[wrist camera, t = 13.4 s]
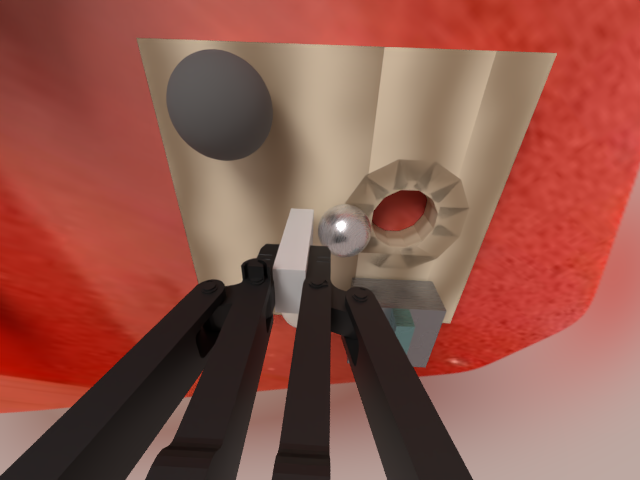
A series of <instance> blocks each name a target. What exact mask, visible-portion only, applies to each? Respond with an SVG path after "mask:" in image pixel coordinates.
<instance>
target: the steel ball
mask: <svg viewBox="0 0 640 480" xmlns="http://www.w3.org/2000/svg"><path fill="white" fill-rule="evenodd" d="M318 237H319V240H320V243H321V244H322V246H327V247H328V248H329V249H330V251H331V254H332V255H334V256H337V257H344V258H346V257H352V256H355V255H357V254H359V253H360V252H362V251H363V250H364V249H365V247H366V246H367V245H368V243H369V241H370V238H371V224H370V221H369V219H368V217H367V216H366V214H365V213H364V212H363V211H362V210H361V209H359V208H358V207H356V206H353V205H349V204H341V205H336V206H334V207H332V208H330V209H329V210H327V211H326V212H325V213H324V214H323V216H322V217H321V219H320V221H319V225H318Z"/></svg>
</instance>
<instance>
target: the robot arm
mask: <svg viewBox="0 0 640 480" xmlns="http://www.w3.org/2000/svg"><path fill="white" fill-rule="evenodd" d="M313 223H314V209H294V208H291V210H290V213H289V217H288V220H287V223H286V226H285V230H284V233H283V236H282V239H281V243H280V244H265V245H264V246H263V247H262V248H261V249H260V251H259V254H258V256H257V258H253V259H249V260H247V261H245V262H243V264H242V265H241V270H242V278H243V280H242V282H241V283H239V284H235V285H229V286H225V284H224V283H223V282H222V281H220V280H217V279H211V280H206V281H203V282H201V283H200V284H198V285H197V286H196V287H195V288H194V289H193V290H192V291H191V292H190V293H189V294H187V295H186V296H185V297H184V298H183V299H182V300H181V301H180V302H179V303H178V304H177V305H176V306H175V307H174V308H173V309H172V310H171V311H170V312H169V313H168V314H167V315H166V316H165V317H164V318H163V319H162V320H161V321H160V322H159V323H158V324H157V325H156V326H154V327H153V328H152V329H151V330H150V331H149V332H148V333H147V334H146V335H145V336H144V337H143V338H142V339H141V340H140V341H139V342H138V343H137V344H136V345H135V346H134V347H133V348H132V349H131V350H130V351H129V352H128V353H127V354H126V355H125V356H124V357H123V358H121V359H120V360H119V361H118V362H117V363H116V364H115V365H114V366H113V367H112V368H111V369H110V370H109V371H108V372H107V373H106V374H105V375H104V376H103V377H102V378H101V379H100V380H99V381H98V382H97V383H96V384H95V385H94V386H93V387H92V388H91V389H90V390H88V391H87V392H86V393H85V394H84V395H83V396H82V397H81V398H80V399H79V400H78V401H77V402H76V403H75V404H74V405H73V406H72V407H71V408H70V409H69V410H68V411H67V412H66V413H65V414H64V415H63V416H62V417H61V418H60V419H59V420H58V421H57V422H55V423H54V425H52V426H51V427H50V428H49V429H48V430H47V431H46V432H45V433H44V434H43V435H42V436H41V437H40V438H39V439H38V440H37V441H36V442H35V443H34V444H33V445H32V446H31V447H30V448H29V449H28V450H27V451H26V452H25V453H24V454H23V455H22V456H21V457H19V458H18V459H17V460H16V461H15V462H14V463H13V464H12V465H11V466H10V467H9V468H8V469H7V470H6V471H5V472H4V473H3V474H2V475H1V476H0V480H125V479H126V478H127V477H128V475H129V474H130V472H131V471H132V469H133V468H134V467H135V465H136V464H137V462H138V461H139V460H140V458H141V457H142V455H143V454H144V453H145V451H146V450H147V448H148V447H149V446H150V444H151V443H152V441H153V440H154V438H155V437H156V436H157V434H158V433H159V432H160V430H161V429H162V427H163V426H164V424H165V423H166V422H167V420H168V419H169V417H170V416H171V415H172V413H173V412H174V410H175V409H176V408H177V406H178V405H179V403H180V402H181V401H182V399H183V398H184V396H185V395H186V394H187V392H188V391H189V389H190V388H191V386H192V385H193V384H194V382H195V381H196V379H197V378H198V377H199V375H200V374H201V372H202V371H203V373H202V375H201V377H200V379H199V382H198V384H197V386H196V389H195V391H194V393H193V396H192V398H191V400H190V403H189V405H188V407H187V410H186V412H185V414H184V416H183V419H182V421H181V423H180V426H179V428H178V430H177V433H176V435H175V437H174V439H173V441H172V443H171V444H170V445H169V446H167V447H165V448H164V449H162V450H161V451H160V453H159V454H158V455H157V457H156V458H155V460H154V462H153V464H152V466H151V468H150V470H149V472H148V474H147V477H146V479H145V480H236V476H237V472H238V468H239V464H240V459H241V455H242V451H243V447H244V442H245V438H246V434H247V430H248V425H249V421H250V417H251V413H252V408H253V404H254V400H255V396H256V392H257V388H258V383H259V379H260V375H261V371H262V366H263V362H264V358H265V354H266V350H267V345H268V341H269V337H270V333H271V328H272V324H273V311H274V307H275V312H278V313H296V314H298V321H297V328H296V335H295V342H294V349H293V356H292V363H291V369H290V376H289V383H288V391H287V397H286V404H285V411H284V418H283V424H282V431H281V438H280V445H279V450H278V453H277V455H276V459H275V464H274V469H273V476H272V480H330V456H329V437H330V436H329V433H330V343H331V332H334V333H337V334H340V335H341V338H342V341H343V344H344V347H345V350H346V354H347V357H348V360H349V363H350V366H351V369H352V372H353V375H354V378H355V381H356V384H357V388H358V391H359V394H360V397H361V400H362V403H363V406H364V409H365V412H366V415H367V418H368V422H369V424H370V428H371V431H372V434H373V437H374V440H375V443H376V446H377V449H378V452H379V455H380V458H381V461H382V465H383V468H384V471H385V474H386V477H387V480H473V479H472V477H471V475H470V473H469V471H468V469H467V467H466V466H465V464H464V462H463V460H462V458H461V456H460V454H459V452H458V451H457V449H456V447H455V445H454V443H453V441H452V439H451V437H450V436H449V434H448V432H447V430H446V428H445V426H444V425H443V423H442V421H441V419H440V417H439V415H438V413H437V411H436V409H435V407H434V406H433V404H432V402H431V400H430V398H429V396H428V394H427V392H426V391H425V389H424V387H423V385H422V383H421V381H420V379H419V377H418V376H417V374H416V372H415V370H414V368H413V366H412V364H411V362H410V361H409V359H408V357H407V355H406V353H405V351H404V349H403V347H402V346H401V344H400V342H399V340H398V338H397V336H396V334H395V332H394V331H393V329H392V327H391V325H390V323H389V321H388V319H387V317H386V316H385V314H384V312H383V310H382V308H381V306H380V304H379V302H378V301H377V299H376V297H375V295H374V294H373V292H372V291H370V290H369V289H367V288H364V287H352V288H350V289H349V290H347V291H344V290H341V289H338V288H337V287H335V286H334V285H333V284H332V282H331V251H330V249H329V248H328V247H327V246H313Z"/></svg>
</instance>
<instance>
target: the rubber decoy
mask: <svg viewBox="0 0 640 480" xmlns="http://www.w3.org/2000/svg"><path fill="white" fill-rule="evenodd" d="M166 102H167V109H168V113H169V117H170V119H171V122H172V124H173V126H174V128H175V129H176V131H177V132H178V134H179V135H180V137H181V138H182V139H183V140H184V141H185V142H186V143H187V144H188V145H189V146H190V147H191V148H193V149H194V150H196V151H197V152H199V153H200V154H202V155H204V156H206V157H209V158H212V159H216V160H223V161H233V160H238V159H242V158H245V157H247V156H249V155H251V154H252V153H254V152H255V151H257V150H258V149H259V148H260V147H261V146H262V144H263V143H264V142H265V140H266V138H267V137H268V135H269V132H270V130H271V126H272V120H273V107H272V101H271V96H270V93H269V90H268V88H267V86H266V84H265V82H264V81H263V79H262V77H261V76H260V75H259V73H258V72H257V71H256V70H255V69H254V68H253V67H252V66H251V65H250V64H249V63H248V62H247V61H245V60H244V59H242V58H240V57H239V56H237V55H235V54H232V53H230V52H227V51H223V50H217V49H207V50H201V51H197V52H195V53H192V54H190V55H188V56H187V57H185V58H184V59H183V60H182V61H180V62H179V63H178V65H177V66H176V67H175V69H174V70H173V72H172V74H171V76H170V78H169V81H168V85H167V93H166Z"/></svg>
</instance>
